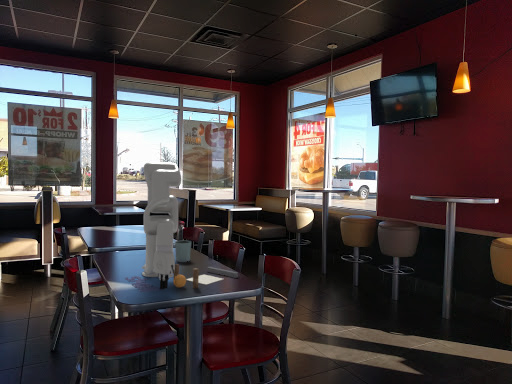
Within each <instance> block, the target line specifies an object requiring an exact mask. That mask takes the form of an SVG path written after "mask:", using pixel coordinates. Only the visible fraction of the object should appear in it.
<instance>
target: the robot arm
mask: <svg viewBox="0 0 512 384" xmlns="http://www.w3.org/2000/svg"><path fill="white" fill-rule="evenodd" d="M142 170H143V176H144V179H145V183H146V186H147V205H146V207H145V209H144V211H143V231H144V234H145V264H143V266H141V269H143V270H144V271H142V272H141V273H142V274H141V275H142V276H143V277H147V278H158V280H159V289H162V290H166V289H168V286H169V285H168V284H169V279H170V278H174V271H175V262H176V259H175V254H174V234H175V233H177V232H178V230H179V201H178V197H176V196H175V195H171V192H170V191H171V189H170V187H174V188H177V187H180V186H181V184H182V174H181V172H180V169H179V167H178V164H177V163H174V162H159V161H158V162H157V161H151V162H150V161H149V162H146V163H145V164H144V165H143V169H142ZM151 213H152V214H168V215H151Z"/></svg>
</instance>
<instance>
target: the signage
mask: <svg viewBox="0 0 512 384" xmlns="http://www.w3.org/2000/svg"><path fill="white" fill-rule="evenodd" d="M135 279H136V280H135ZM124 280H126V281H128V282H129V283H131V286H132V287H134V288H136V289H137V290H138V291H139V292H141V293H143V292H154V291H161V290H163V289H160V286H152V285H151V284H150V283H147V282H146V281H148V278H141V277H140V276H136V275H135V276H132V277H130V278H129V277H124ZM133 282H134V283H133Z"/></svg>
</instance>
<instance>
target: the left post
mask: <svg viewBox="0 0 512 384" xmlns="http://www.w3.org/2000/svg"><path fill="white" fill-rule="evenodd" d="M177 275H180V264H177V263H176V264H175V271H174V273H173V280H174V278H175V277H176V276H177Z"/></svg>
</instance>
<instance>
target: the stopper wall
mask: <svg viewBox="0 0 512 384" xmlns="http://www.w3.org/2000/svg"><path fill="white" fill-rule="evenodd" d="M206 272H207V273H211V274H216V275H219V274H220V276H224V275H225V276H224V277H230V278H235V279H236V278H239V272H237V271H231V270H226V269H222V268H219V267H218V268H216V267H212V266H208V267H206Z"/></svg>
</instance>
